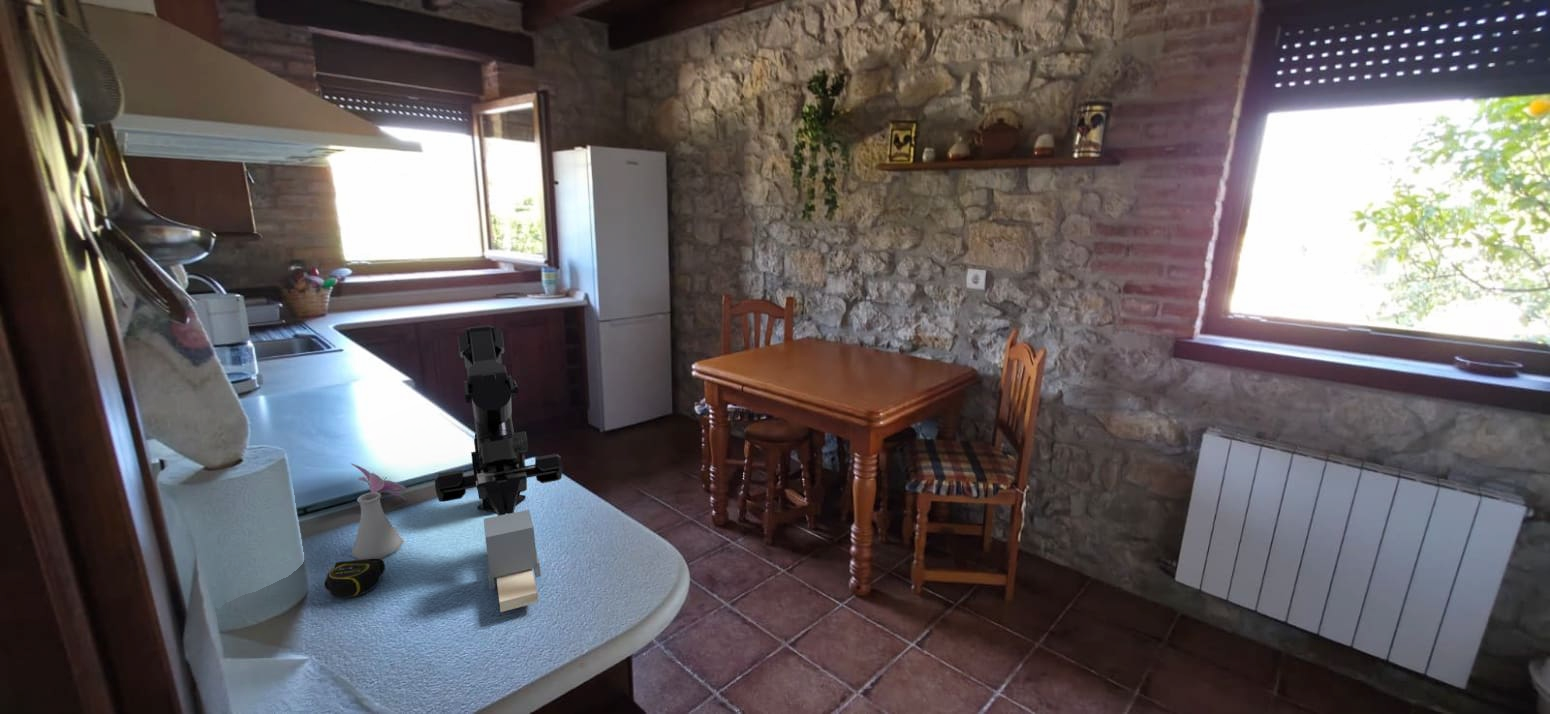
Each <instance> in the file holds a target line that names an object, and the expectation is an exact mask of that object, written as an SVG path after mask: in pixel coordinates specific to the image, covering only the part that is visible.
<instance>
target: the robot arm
mask: <svg viewBox="0 0 1550 714" xmlns="http://www.w3.org/2000/svg"><path fill="white" fill-rule="evenodd" d="M494 327H495V326H493V325H478V326H477V325H476V326H470V327H467V328H466V330H465V331H464V332H462V333H461V334H459V335H458V336H457V341H458V350H459V357H460V358H464V366H465V368H466V370H467V372H466V373H467V379H468V380H463V384H464V385H463V386H464V397H465V402H466V404H471V407H472V410H473V417H474V424H475V425H474V426H475V435H474V439H473V444H474V445H473V446H474V451H471V452H470V453H471V454H470V455H471V462H472V469H473V471H472V472H473V474H471V475H467V476H464V472H463V469H458V470H452V471H446V472H440V473H437V475H436V476H435V478H434V485H435V492H436V495H437V498H438V499H437V500H438V501H439V502H442V503H443V502H445V503H446V502H449V501H455V500H461V499H462V498H463V497H464V496H465V495H466V492H467V491H466V490H468V489H473V488H476V490H477V496H478V499H479V500H481V503H479V505H477V506H476V509H477V510H479V511H487V512H492V513H493V512H494V513H496V514H497V515H496V516H500V515H505V514H510V513H515V509H516V506H518V505H519V504H520V503H522V502H523V501H524V500H526V495H525V494H521V493H523V492H525V491H527V490H528V488H527V487H528V486H527V483H528V480H527V479H528V478H534V477H535V478H536V481H538V482H539V483H541V484H546V483H552V482H557V481H559V480H561V479H562V476H563V475H562V474H563V470H564V469H563V468H564V466H563V462H562V457H561V456H560V455H559V454H558V453H553V454H547V455H541V456H535V459H534V461H535V463H534V464H529V465H526V462H525V460H526V458H525V452H528V451H529V444H528V438H527V432H526V431H518V432H514V425H513V419H512V413H513V412H512V398H514V399H515V398H516V394H519V388H518V384H517V381H516V380H514V378H513V377H512V375H508V372H507V369H506V366H505V365H504V364H503V363H502V354H505V343H504V336H503V331H501V330H497V329H494Z"/></svg>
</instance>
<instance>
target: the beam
mask: <svg viewBox="0 0 1550 714" xmlns="http://www.w3.org/2000/svg"><path fill="white" fill-rule="evenodd" d="M495 578H496V585H497V593H498V601H499V602H498V603H499V609H500V611H499V612H500V613H504V612H506V611H511V610H514V609H517V608H518V609H519V608H521V607H522V608H523V607H525V606H529V605H533V604H536V603H539V598H538V597H539V596H538V591H537V586H536V580H535V576H534V572H533V568H532V569H528V570H524V571H520V572H516V573H512V574H507V575H503V576H499V577H495Z"/></svg>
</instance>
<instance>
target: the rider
mask: <svg viewBox="0 0 1550 714" xmlns="http://www.w3.org/2000/svg"><path fill="white" fill-rule="evenodd" d="M483 528H484V538H485V544H486V545H485V546H486V554H485V559H486V570H487V572H486V573H487V578H488V585H489V587H488V588H489V590H492V589H495V588H496V585H495V578H496V577H499V576H503V575H507V574H512V573H516V572H520V571H524V570H528V569H532V570H534V574H535V576H534V577H535V578H541V577H542V573H541V566H540V559H539V555H538V552H537V547H536V539H535V537H536V536H535V531H534V530H535V529H534V524H533V520H532V516H531V511H530V509H526V510H521V511H514V513H510V514H507V513H506V514H505V515H500V516H498V515H495V516H491V517H490V516H489V517H486V518H483Z"/></svg>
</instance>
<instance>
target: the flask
mask: <svg viewBox="0 0 1550 714" xmlns="http://www.w3.org/2000/svg"><path fill="white" fill-rule="evenodd" d="M381 498H382V493H378V492H371V491H370V492H367V493H364V494H361V495H360V496H359V497H358V498H357V499H356V501H357V502H358V503H359V506H360V521H359V525H358V529H357V533H356V536H355V541H354V544H353V547H352V550H351V551H352V552H351V555H350V556H351V557H354V558H355V559H356V560H363V559H383V558H385V557H387V556H389V555H391V554H394V553H396V552H397V551H399V550H400V548H401V547H402V545H403V544H404V543H405V541H404V539H403V538H402V537H401V535H400V534H399V533H398V531H397V529H395V527H394V526H393V524H392V523H391V522H390V520H389V518H388V517H387V515H386V514H385V511H384V509H383V507H382V504H381Z"/></svg>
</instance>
